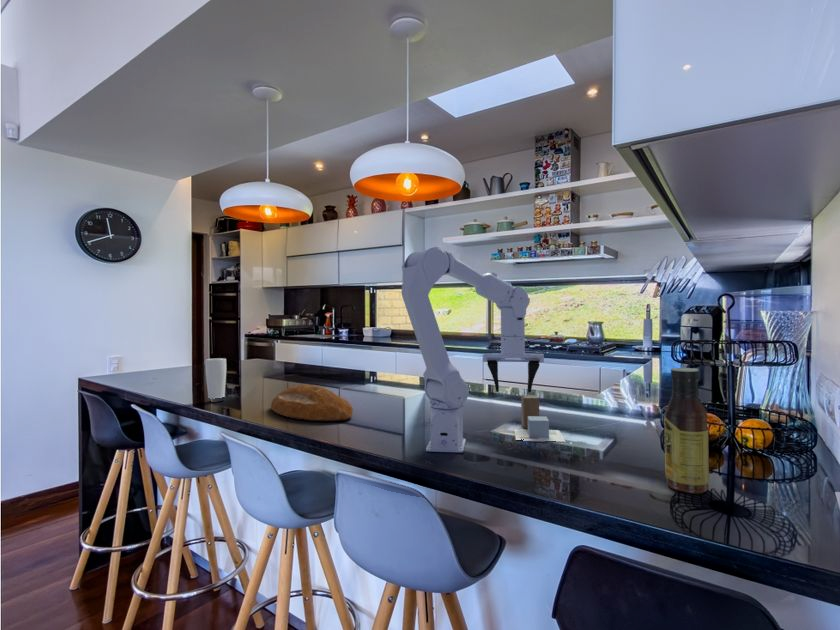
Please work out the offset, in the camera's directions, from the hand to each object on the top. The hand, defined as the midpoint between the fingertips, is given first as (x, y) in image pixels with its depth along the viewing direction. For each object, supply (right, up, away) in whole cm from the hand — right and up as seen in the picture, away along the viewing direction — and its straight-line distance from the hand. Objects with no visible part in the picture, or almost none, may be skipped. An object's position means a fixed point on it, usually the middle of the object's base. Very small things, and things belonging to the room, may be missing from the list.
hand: (513, 391), depth 110 cm
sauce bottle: (+21, -10, -36) cm, 43 cm away
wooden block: (+6, -10, +6) cm, 13 cm away
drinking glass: (-95, -12, +48) cm, 107 cm away
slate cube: (+6, -10, -2) cm, 12 cm away
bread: (-56, -12, +27) cm, 63 cm away
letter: (+6, -10, -2) cm, 12 cm away
